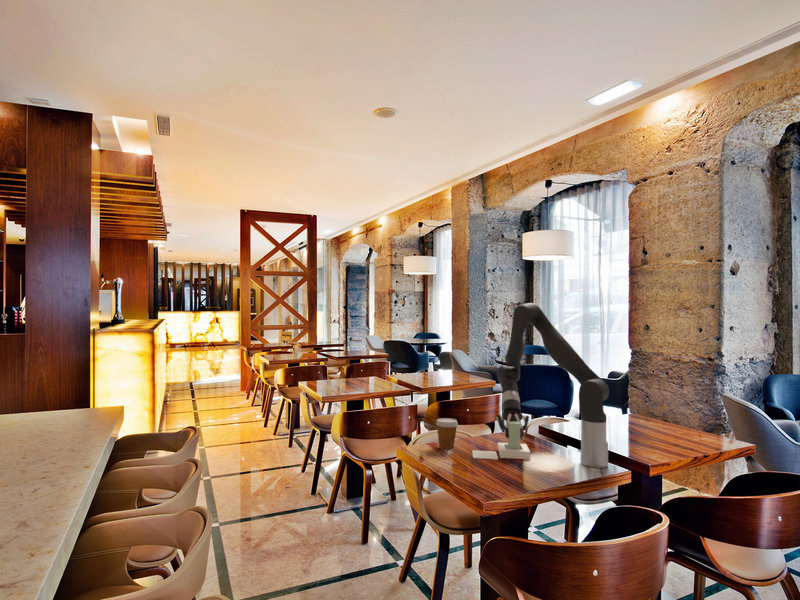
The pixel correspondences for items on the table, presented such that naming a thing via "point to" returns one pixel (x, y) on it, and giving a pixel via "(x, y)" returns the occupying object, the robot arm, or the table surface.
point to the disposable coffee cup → (446, 432)
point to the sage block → (514, 435)
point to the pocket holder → (513, 451)
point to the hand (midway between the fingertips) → (514, 437)
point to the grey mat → (485, 455)
